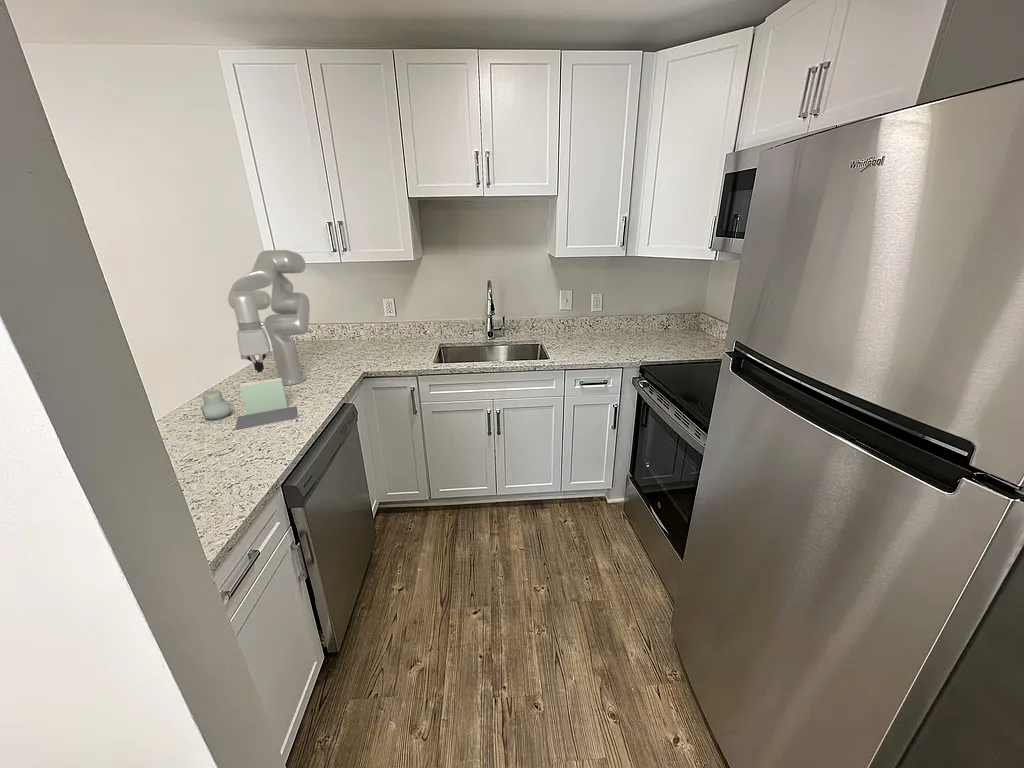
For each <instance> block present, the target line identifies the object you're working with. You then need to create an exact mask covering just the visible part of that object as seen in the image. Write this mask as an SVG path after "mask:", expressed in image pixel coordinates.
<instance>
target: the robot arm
mask: <svg viewBox="0 0 1024 768" xmlns="http://www.w3.org/2000/svg"><path fill="white" fill-rule="evenodd" d="M306 266H307V265H306V260H305V259H304V257H303V256H302V255H301V254H300V253H297V252H294V251H292V250H286V249H274V250H272V249H271V250H270V249H267V250H262V251H260V252H259V253H258V255H257V258H256V260H255V263H254V265H253V267H252V269H251V271H250V272H248V273H246V274H245V275H243V276H242V277H240V278H238V279H237V280H236V281H235V282H234V283H233V284H232V286H231V288H230V290H229V292H228V299H227V301H228V305H229V306H230V308H231V309H233V310H234V314H235V318H236V323H237V328H238V330H237V332H236V334H237V335H236V336H237V344H238V349H239V354H240V359H241V360H247V361H250V362H251V363H253V367H254V370H255V371H256V372H257V373H263V371H264V369H265V367H264V362H263V361H264V360H265V359H266V358H268V357H271V356H273V357H274V362H275V366H276V370H277V374H278V378H282V382H283V386H293V385H298V384H300V383H303V382H305V381H306V379H307V377H306V375H304V374H302V370H301V364H300V360H299V356H298V355H299V354H298V349H297V346H296V342H295V341H294V339H293V338H292V337H291V336H298V335H299V336H301V335H306V334H307V333H308V331H309V323H310V312H311V311H310V310H311V305H310V299H309V297H308V296H307V295H306V294H305V293H303V292H294V284H293V283H292V281H291V280H290V279H289V278H288V277H286V276H285V275H284V274H302V273H303V272H305V269H306ZM271 285H272V288H271V289H272V290H271V296H270V294H269V293H268V292H266V291H264V290H261V289H264V288H267V287H270V286H271ZM270 306H271V307H270ZM269 307H270V308H271V311H272V312H274V313H275V314H270V315H268V316H266V317H265V318H264V321H262V320H261V319H260V315H259V311H262V310H267V309H268V308H269ZM263 326H264V327H263ZM268 337H269V338H268ZM269 340H270V342H269ZM270 344H271V345H270ZM270 346H271V347H270ZM271 348H272V351H271ZM272 352H273V353H272ZM256 356H258V359H257V358H256Z"/></svg>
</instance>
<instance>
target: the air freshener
mask: <svg viewBox="0 0 1024 768" xmlns="http://www.w3.org/2000/svg"><path fill="white" fill-rule="evenodd" d="M201 396H202V399H203V405H201V407H200V410H201V412H202V414H203V417H204V418H205V419H206V420H209V421H210V420H213V421H214V420H218V419H222V418H225V417H227V416H229V415H230V414H231V413H232V407H231V404H230V403H229V401H228V400H226V399H223V398H224V397H223V394H222V391H221V390H218V389H214V390H213V389H212V390H208V391H205V392H203V393H202V395H201Z"/></svg>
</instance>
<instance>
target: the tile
mask: <svg viewBox="0 0 1024 768" xmlns="http://www.w3.org/2000/svg"><path fill="white" fill-rule="evenodd" d="M239 389H240V393H241V398H242V400H243V401H242V402H243V404H244V409H245V412H246V415H250V414H255V413H261V412H266V411H272V410H278V409H283V408H289V407H288V406H289V404H288V401H287V396H286V392H285V387H284V385H283V382H282V378H279V377H277V378H271V379H270V378H269V379H265V380H264V379H263V380H259V381H258V380H257V381H256V380H255V381H250V382H244V383H240V385H239Z"/></svg>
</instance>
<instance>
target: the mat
mask: <svg viewBox="0 0 1024 768" xmlns="http://www.w3.org/2000/svg"><path fill="white" fill-rule="evenodd" d="M296 412H297V406H296V405H294V406H289V407H288V408H283V409H278V410H272V411H266V412H261V413H255V414H250V415H247V414H244V415H240V416H239V415H238V416H237V418H236V424H235V427H234V429H235V431H240V430H243V429H248V428H254V427H258V426H263V425H269V424H274V422H275V423H279V421H281V422H285V421H284V420H286V421H290V420H289V419H291V420H295V418H297V419H298V414H297V413H298V412H297V413H296Z"/></svg>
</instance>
